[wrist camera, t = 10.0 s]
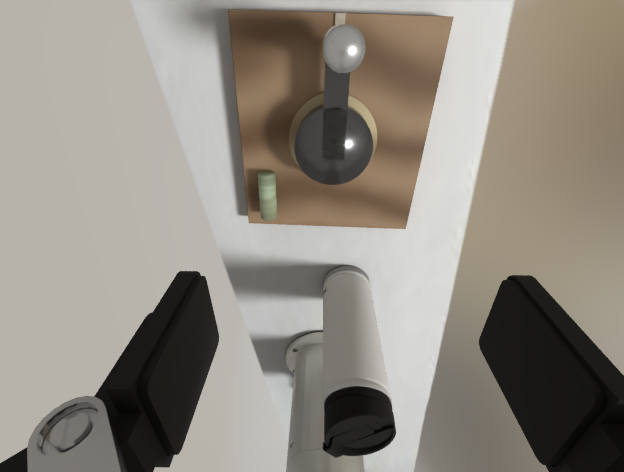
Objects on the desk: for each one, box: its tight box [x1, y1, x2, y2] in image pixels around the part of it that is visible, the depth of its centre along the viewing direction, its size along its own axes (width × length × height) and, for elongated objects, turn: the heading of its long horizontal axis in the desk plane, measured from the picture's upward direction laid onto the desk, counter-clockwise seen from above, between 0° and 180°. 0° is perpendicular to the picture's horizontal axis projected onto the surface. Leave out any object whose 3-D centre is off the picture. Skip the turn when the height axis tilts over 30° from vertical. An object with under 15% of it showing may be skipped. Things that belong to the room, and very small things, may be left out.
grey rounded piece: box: [294, 24, 373, 185], centre depth 24 cm, size 7×13×9 cm, turn 179°
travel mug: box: [323, 266, 396, 458], centre depth 35 cm, size 6×7×20 cm
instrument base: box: [228, 9, 453, 229], centre depth 31 cm, size 20×18×3 cm
